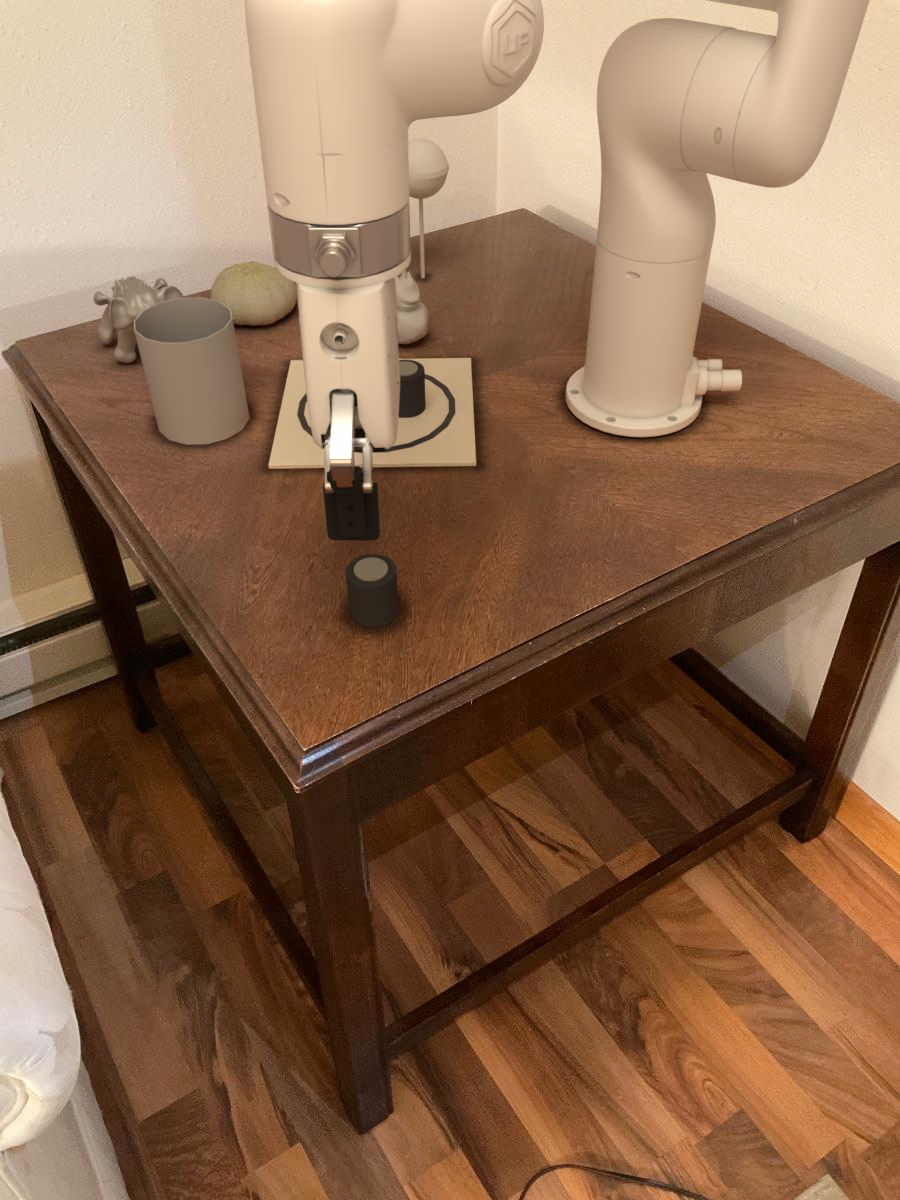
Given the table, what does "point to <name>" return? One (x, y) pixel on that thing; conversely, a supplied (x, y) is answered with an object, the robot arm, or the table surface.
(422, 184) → the lollipop
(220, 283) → the sea urchin shell
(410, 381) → the black cylinder
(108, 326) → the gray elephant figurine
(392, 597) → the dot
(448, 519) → the table surface
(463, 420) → the board
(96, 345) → the table surface
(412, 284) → the rubber duck
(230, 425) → the cup
